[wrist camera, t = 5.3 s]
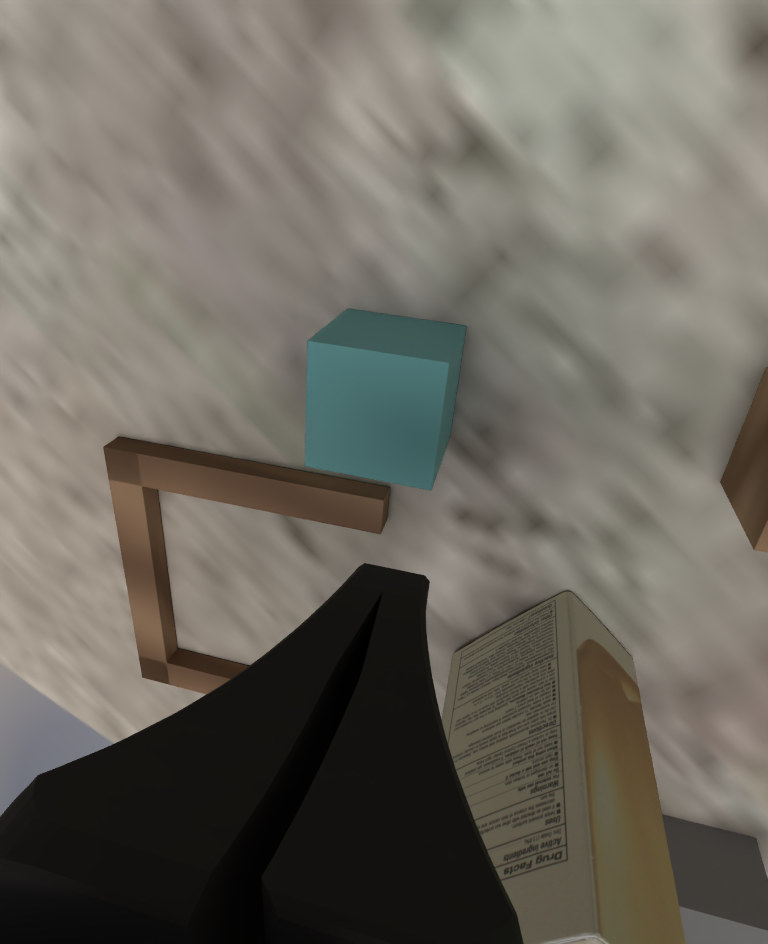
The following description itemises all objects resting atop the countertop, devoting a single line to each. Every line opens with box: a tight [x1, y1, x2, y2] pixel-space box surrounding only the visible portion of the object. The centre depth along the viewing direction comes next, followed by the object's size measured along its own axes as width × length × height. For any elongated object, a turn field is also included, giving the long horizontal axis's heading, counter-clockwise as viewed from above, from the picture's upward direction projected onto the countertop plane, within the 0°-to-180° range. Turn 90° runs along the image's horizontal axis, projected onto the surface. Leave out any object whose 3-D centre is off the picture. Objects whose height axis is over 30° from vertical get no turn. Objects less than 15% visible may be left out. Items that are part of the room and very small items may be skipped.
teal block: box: [305, 309, 467, 491], centre depth 19 cm, size 4×4×4 cm
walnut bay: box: [103, 437, 390, 694], centre depth 27 cm, size 13×12×1 cm
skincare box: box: [442, 592, 686, 944], centre depth 20 cm, size 6×4×12 cm
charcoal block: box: [662, 814, 768, 944], centre depth 27 cm, size 4×4×4 cm
